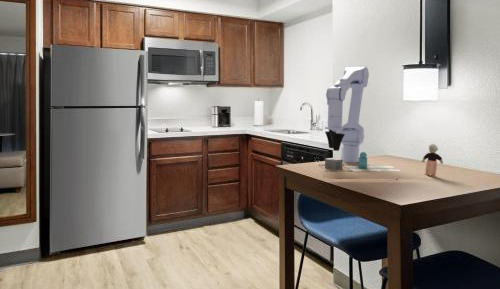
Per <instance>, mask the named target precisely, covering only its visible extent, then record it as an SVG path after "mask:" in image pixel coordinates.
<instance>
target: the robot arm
mask: <svg viewBox="0 0 500 289" xmlns="http://www.w3.org/2000/svg"><path fill="white" fill-rule="evenodd" d="M369 74H370V72H369V68H368V67H367V66H357V67H356V66H355V67H354V66H353V67H352V66H351V67H349V66H346V67H345V69H344V71H343V77H342V78H341V77H339V79H338V80H337V81H336V83H334V85H333V86H330V87H329V88H327V90H326V93H325V97H326V101H327V102H326V105H327V106H328V109H327V110H328V111H327V126H325V127H324V129H325V130H328V131H324V133H325V135H326V138H327V143H328V148H329V149H332V151H334V152H336V151H337V152H339V151H340V148H341V154H340V155H341V158H340V159H343V162H344V163H359V157H360V145H362V143H364V139H365V130H364V127H363V126H362V125H361V124H360V123H359V121H360V116H361V108H362V107H361V106H362V100H363V92H364V90H365V89H364V88H366V87H367V86H368V83H369ZM350 88H351V96H350V103H349V110H348V118H347V122H345V124H343V107H344V106H343V103H344V101H345V100H346V95H347V91H348V90H350ZM341 144H342V147H341Z"/></svg>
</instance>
